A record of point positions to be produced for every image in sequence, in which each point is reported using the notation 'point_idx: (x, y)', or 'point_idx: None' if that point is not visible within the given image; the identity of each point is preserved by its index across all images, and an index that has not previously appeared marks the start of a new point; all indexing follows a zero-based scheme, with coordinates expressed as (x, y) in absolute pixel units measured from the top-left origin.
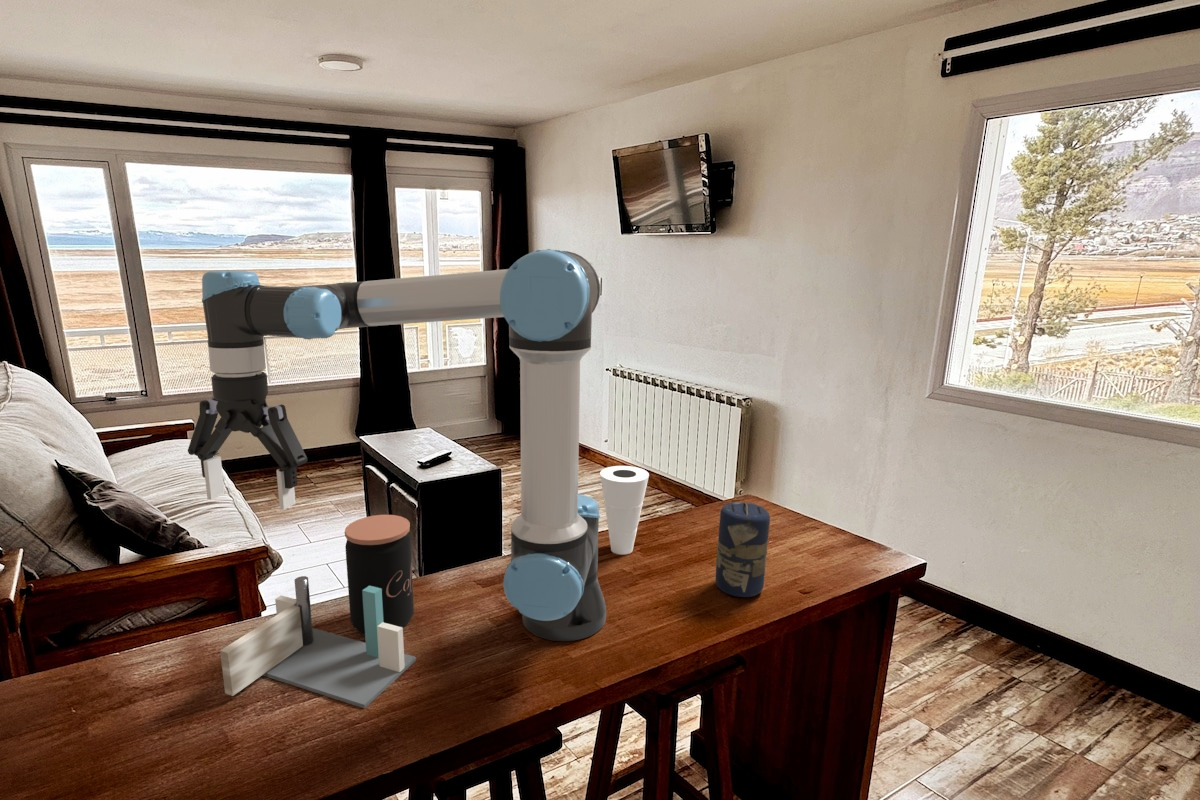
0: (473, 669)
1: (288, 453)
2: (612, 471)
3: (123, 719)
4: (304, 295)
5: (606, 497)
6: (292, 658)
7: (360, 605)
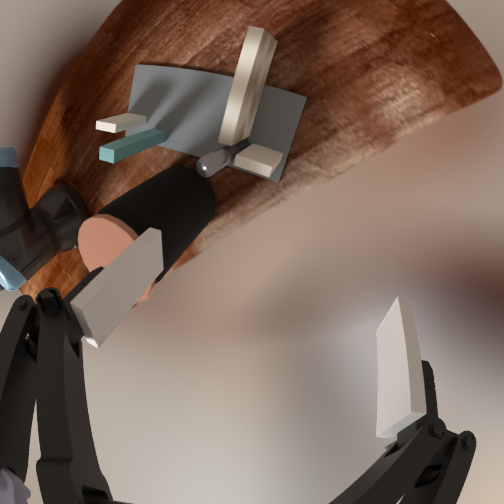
0: (88, 136)
1: (10, 335)
2: None
3: (370, 14)
4: None
5: None
6: None
7: (170, 178)
